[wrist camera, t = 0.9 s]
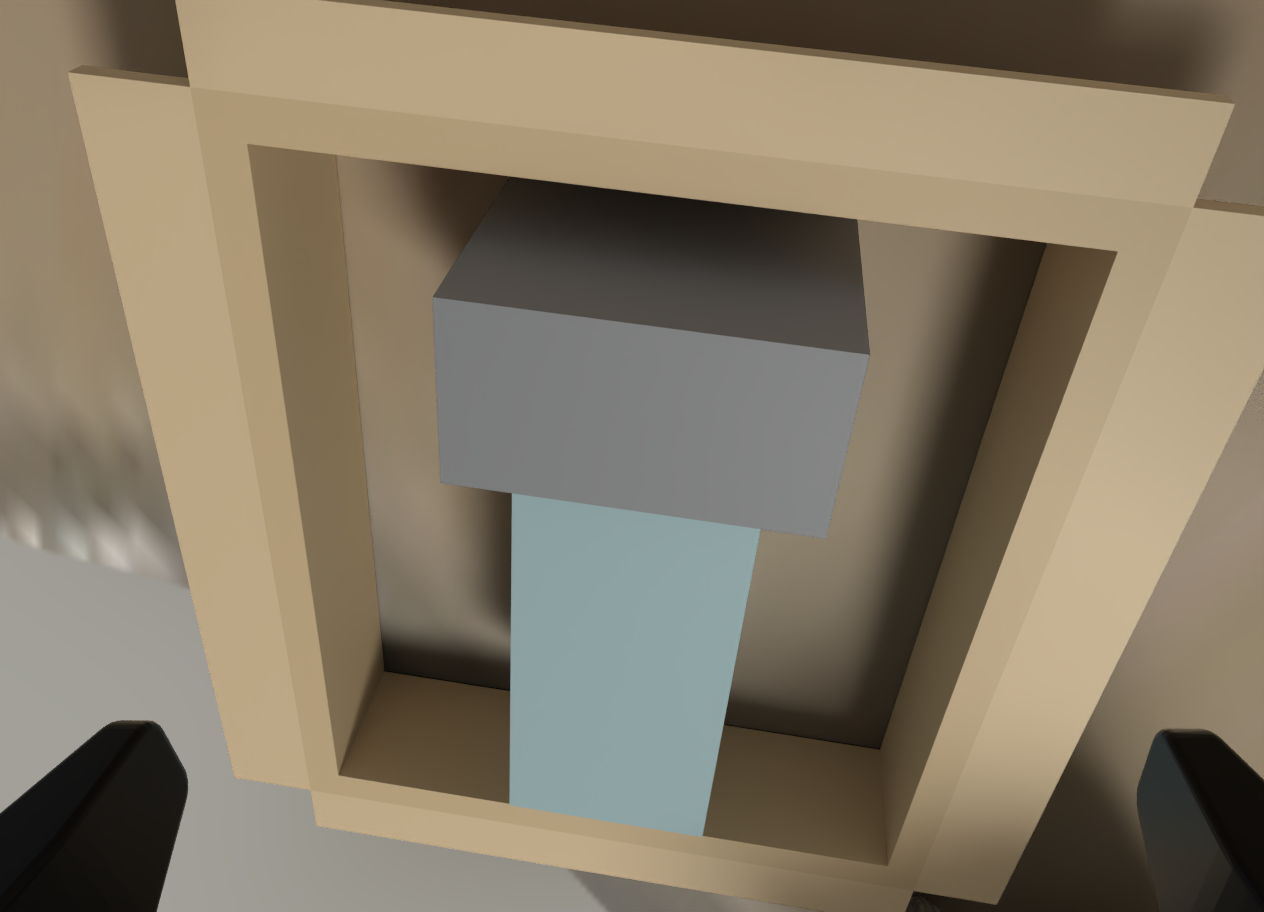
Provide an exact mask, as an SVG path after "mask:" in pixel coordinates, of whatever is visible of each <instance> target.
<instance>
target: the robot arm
mask: <svg viewBox="0 0 1264 912" xmlns="http://www.w3.org/2000/svg"><path fill="white" fill-rule="evenodd" d="M187 794H188V779H187V775H186V771H185V769H184V767H183V765H182V763H181V762H180V760H179V758H178V756H177V754H176V752H175V751H174V749H173V747H172V745H171V743H170V741H169V740H168V738H167V736H166V734H165V732H164V731H163V729H162V728H161V726H160V725H158V724H157V723H155V722H153V721H132V720H131V721H130V720H129V721H128V720H127V721H125V720H121V721H116V722H112V723H110V724H108V725H106V726H105V727H103V728H102V729H101V730H99V731H98V732H97V733H96V734H95V735H93V736H92V737H91V738H90V739H89V740H87V741H86V742H85V743H84V744H83V745H81V746H80V747H79V748H78V749H77V750H76V751H74V752H73V753H72V754H71V755H69V756H68V757H67V758H66V759H65V760H63V761H62V762H61V763H60V764H59V765H57V766H56V767H55V768H54V769H53V770H51V771H50V772H49V773H48V774H47V775H46V776H44V777H43V778H42V779H41V780H40V781H38V782H37V783H36V784H35V785H34V786H32V787H31V788H30V789H29V790H28V791H26V792H25V793H24V794H23V795H22V796H20V797H19V798H18V799H17V800H16V801H14V802H13V803H12V804H11V805H10V806H8V807H7V808H6V809H5V810H4V811H2V812H1V813H0V912H157V908H158V904H159V900H160V897H161V893H162V889H163V885H164V882H165V878H166V874H167V871H168V867H169V863H170V859H171V855H172V851H173V848H174V844H175V841H176V837H177V833H178V830H179V826H180V822H181V818H182V815H183V811H184V807H185V803H186V799H187ZM1137 809H1138V815H1139V820H1140V825H1141V829H1142V834H1143V839H1144V843H1145V848H1146V853H1147V857H1148V862H1149V867H1150V871H1151V876H1152V881H1153V885H1154V890H1155V895H1156V899H1157V904H1158V909H1159V912H1264V779H1263V778H1261V777H1260V776H1259V775H1258V774H1257V773H1256V772H1255V771H1254V770H1253V769H1252V768H1251V767H1250V766H1249V765H1248V764H1247V763H1246V762H1245V761H1244V760H1243V759H1242V758H1241V757H1240V756H1239V755H1238V754H1237V753H1236V752H1235V751H1234V750H1232V749H1231V748H1230V747H1229V746H1228V745H1227V744H1226V743H1225V742H1224V741H1223V740H1222V739H1221V738H1220V737H1219V736H1217V735H1216V734H1214V733H1213V732H1211V731H1208V730H1204V729H1162V730H1161V731H1159V732H1158V733H1157V734H1156V735H1155V737H1154V739H1153V742H1152V745H1151V748H1150V751H1149V754H1148V757H1147V760H1146V763H1145V766H1144V769H1143V772H1142V775H1141V778H1140V781H1139V784H1138V788H1137Z"/></svg>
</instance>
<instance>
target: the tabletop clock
mask: <svg viewBox="0 0 1264 912" xmlns="http://www.w3.org/2000/svg"><path fill="white" fill-rule="evenodd" d="M905 912H940V910H939V909H938V908H937V906H936V905H935V904H933V903H932V902H930V901H928V900H926V899H924V898H923V897H921V896H919V895H912V896H911V899H910V901H909V904H908V906H907V909H906V911H905Z"/></svg>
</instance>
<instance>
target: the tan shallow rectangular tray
mask: <svg viewBox="0 0 1264 912" xmlns="http://www.w3.org/2000/svg"><path fill="white" fill-rule="evenodd" d="M175 2H176V7H177V13H178V19H179V25H180V31H181V37H182V43H183V48H184V54H185V60H186V66H187V72H188V78H183V77H175V76H167V75H158V74H150V73H142V72H133V71H125V70H117V69H108V68H100V67H92V66H83V65H82V66H80V67H78V68H76V69H73V70H71V71H69V72H68V76H69V80H70V84H71V89H72V93H73V97H74V101H75V105H76V110H77V114H78V118H79V122H80V127H81V131H82V135H83V139H84V143H85V148H86V152H87V156H88V160H89V165H90V169H91V173H92V177H93V181H94V186H95V190H96V194H97V198H98V203H99V207H100V211H101V215H102V219H103V224H104V228H105V232H106V236H107V241H108V245H109V249H110V253H111V257H112V262H113V266H114V270H115V274H116V279H117V283H118V287H119V291H120V295H121V300H122V304H123V308H124V312H125V317H126V321H127V325H128V329H129V333H130V338H131V342H132V346H133V350H134V355H135V359H136V363H137V367H138V371H139V376H140V380H141V384H142V388H143V393H144V397H145V401H146V405H147V409H148V414H149V418H150V422H151V426H152V430H153V435H154V439H155V443H156V447H157V452H158V456H159V460H160V464H161V468H162V473H163V477H164V481H165V485H166V490H167V494H168V498H169V502H170V506H171V511H172V515H173V519H174V523H175V528H176V532H177V536H178V540H179V544H180V549H181V553H182V557H183V561H184V566H185V570H186V574H187V578H188V582H189V587H190V591H191V595H192V599H193V603H194V607H195V612H196V616H197V620H198V625H199V629H200V633H201V637H202V642H203V646H204V650H205V654H206V658H207V663H208V667H209V671H210V675H211V680H212V683H213V688H214V692H215V696H216V701H217V705H218V709H219V713H220V717H221V722H222V726H223V730H224V734H225V739H226V743H227V747H228V751H229V756H230V760H231V764H232V768H233V772H234V776H235V778H240V779H246V780H252V781H258V782H265V783H270V784H276V785H282V786H288V787H294V788H300V789H306V790H311V796H312V801H313V806H314V813H315V818H316V824H317V826H321V827H327V828H333V829H339V830H344V831H351V832H356V833H363V834H369V835H374V836H380V837H386V838H392V839H398V840H403V841H410V842H415V843H422V844H427V845H434V846H440V847H445V848H451V849H457V850H463V851H469V852H474V853H481V854H486V855H493V856H498V857H504V858H510V859H516V860H522V861H528V862H533V863H539V864H545V865H551V866H557V867H563V868H569V869H575V870H581V871H587V872H593V873H598V874H604V875H610V876H616V877H622V878H628V879H634V880H640V881H646V882H652V883H658V884H663V885H669V886H675V887H681V888H687V889H693V890H699V891H705V892H711V893H717V894H722V895H728V896H734V897H740V898H746V899H752V900H758V901H764V902H770V903H776V904H782V905H787V906H793V907H799V908H805V909H811V910H817V911H823V912H905V911H906V909H907V906H908V904H909V901H910V899H911V896H912V894H913V891H917V892H923V893H929V894H935V895H941V896H947V897H953V898H959V899H965V900H971V901H977V902H983V903H989V904H995V905H997V903H998V901H999V899H1000V897H1001V895H1002V893H1003V891H1004V889H1005V887H1006V885H1007V883H1008V881H1009V879H1010V877H1011V875H1012V873H1013V871H1014V869H1015V867H1016V865H1017V863H1018V861H1019V859H1020V857H1021V855H1022V853H1023V851H1024V849H1025V847H1026V845H1027V843H1028V841H1029V839H1030V837H1031V835H1032V833H1033V831H1034V829H1035V827H1036V825H1037V823H1038V821H1039V819H1040V817H1041V815H1042V813H1043V811H1044V809H1045V807H1046V805H1047V803H1048V801H1049V799H1050V797H1051V795H1052V793H1053V791H1054V789H1055V787H1056V785H1057V783H1058V781H1059V779H1060V777H1061V775H1062V773H1063V771H1064V769H1065V767H1066V765H1067V763H1068V761H1069V759H1070V757H1071V755H1072V753H1073V751H1074V749H1075V747H1076V745H1077V743H1078V741H1079V739H1080V737H1081V735H1082V733H1083V731H1084V729H1085V727H1086V725H1087V723H1088V721H1089V719H1090V717H1091V715H1092V713H1093V711H1094V709H1095V707H1096V705H1097V703H1098V701H1099V699H1100V697H1101V695H1102V693H1103V690H1104V688H1105V686H1106V684H1107V682H1108V680H1109V678H1110V676H1111V674H1112V672H1113V670H1114V668H1115V666H1116V664H1117V662H1118V660H1119V658H1120V656H1121V654H1122V652H1123V650H1124V648H1125V646H1126V644H1127V642H1128V640H1129V638H1130V636H1131V634H1132V632H1133V630H1134V628H1135V626H1136V624H1137V622H1138V620H1139V618H1140V616H1141V614H1142V612H1143V610H1144V608H1145V606H1146V604H1147V602H1148V600H1149V598H1150V596H1151V594H1152V592H1153V590H1154V588H1155V586H1156V584H1157V582H1158V580H1159V578H1160V576H1161V574H1162V572H1163V570H1164V568H1165V566H1166V564H1167V562H1168V560H1169V558H1170V556H1171V554H1172V552H1173V550H1174V548H1175V546H1176V544H1177V542H1178V540H1179V538H1180V536H1181V534H1182V532H1183V530H1184V528H1185V526H1186V524H1187V522H1188V520H1189V518H1190V516H1191V514H1192V512H1193V510H1194V508H1195V506H1196V504H1197V502H1198V500H1199V498H1200V496H1201V494H1202V492H1203V490H1204V488H1205V486H1206V484H1207V482H1208V480H1209V478H1210V476H1211V474H1212V472H1213V470H1214V468H1215V466H1216V464H1217V462H1218V460H1219V458H1220V456H1221V454H1222V452H1223V450H1224V448H1225V446H1226V444H1227V442H1228V440H1229V438H1230V436H1231V433H1232V431H1233V429H1234V427H1235V425H1236V423H1237V421H1238V419H1239V417H1240V415H1241V413H1242V411H1243V409H1244V407H1245V405H1246V403H1247V401H1248V399H1249V397H1250V395H1251V393H1252V391H1253V389H1254V387H1255V385H1256V383H1257V381H1258V379H1259V377H1260V375H1261V373H1262V371H1263V369H1264V207H1261V206H1253V205H1244V204H1236V203H1228V202H1219V201H1211V200H1203V199H1197V197H1198V195H1199V192H1200V190H1201V187H1202V185H1203V182H1204V180H1205V177H1206V175H1207V173H1208V170H1209V168H1210V165H1211V163H1212V160H1213V158H1214V155H1215V153H1216V151H1217V148H1218V146H1219V143H1220V141H1221V138H1222V136H1223V133H1224V131H1225V129H1226V126H1227V124H1228V121H1229V119H1230V116H1231V114H1232V111H1233V109H1234V107H1235V103H1234V102H1233V101H1232V100H1231V99H1229V98H1228V97H1227V96H1226V95H1218V94H1209V93H1200V92H1191V91H1182V90H1173V89H1165V88H1156V87H1147V86H1138V85H1129V84H1120V83H1111V82H1103V81H1094V80H1085V79H1076V78H1067V77H1058V76H1049V75H1040V74H1032V73H1023V72H1014V71H1005V70H996V69H987V68H978V67H970V66H961V65H952V64H943V63H934V62H925V61H916V60H908V59H899V58H890V57H881V56H872V55H863V54H854V53H846V52H837V51H828V50H819V49H810V48H801V47H792V46H784V45H775V44H766V43H757V42H748V41H739V40H730V39H722V38H713V37H704V36H695V35H686V34H677V33H668V32H660V31H651V30H642V29H633V28H624V27H615V26H606V25H598V24H589V23H580V22H571V21H562V20H553V19H544V18H536V17H527V16H518V15H509V14H500V13H491V12H482V11H474V10H465V9H456V8H447V7H438V6H429V5H420V4H412V3H403V2H394V1H385V0H175ZM336 155H342V156H350V157H358V158H366V159H374V160H382V161H390V162H398V163H407V164H415V165H423V166H431V167H439V168H447V169H455V170H463V171H471V172H479V173H487V174H496V175H504V176H512V177H520V178H528V179H536V180H544V181H552V182H560V183H568V184H576V185H584V186H593V187H601V188H609V189H617V190H625V191H633V192H641V193H649V194H657V195H665V196H673V197H681V198H690V199H698V200H706V201H714V202H722V203H730V204H738V205H746V206H754V207H762V208H770V209H778V210H787V211H795V212H803V213H811V214H819V215H827V216H835V217H843V218H851V219H859V220H867V221H875V222H884V223H892V224H900V225H908V226H916V227H924V228H932V229H940V230H948V231H956V232H964V233H973V234H981V235H989V236H997V237H1005V238H1013V239H1021V240H1029V241H1037V242H1045V243H1047V244H1046V247H1045V250H1044V253H1043V256H1042V259H1041V262H1040V265H1039V268H1038V272H1037V275H1036V278H1035V281H1034V284H1033V287H1032V290H1031V293H1030V296H1029V299H1028V302H1027V305H1026V308H1025V311H1024V314H1023V317H1022V320H1021V323H1020V326H1019V329H1018V332H1017V335H1016V338H1015V341H1014V344H1013V347H1012V350H1011V353H1010V357H1009V360H1008V363H1007V366H1006V369H1005V372H1004V375H1003V378H1002V381H1001V384H1000V387H999V390H998V393H997V396H996V399H995V402H994V405H993V408H992V411H991V414H990V417H989V420H988V423H987V426H986V429H985V432H984V435H983V438H982V442H981V445H980V448H979V451H978V454H977V457H976V460H975V463H974V466H973V469H972V472H971V475H970V478H969V481H968V484H967V487H966V490H965V493H964V496H963V499H962V502H961V505H960V508H959V511H958V514H957V517H956V520H955V523H954V526H953V530H952V533H951V536H950V539H949V542H948V545H947V548H946V551H945V554H944V557H943V560H942V563H941V566H940V569H939V572H938V575H937V578H936V581H935V584H934V587H933V590H932V593H931V596H930V599H929V602H928V605H927V608H926V611H925V615H924V618H923V621H922V624H921V627H920V630H919V633H918V636H917V639H916V642H915V645H914V648H913V651H912V654H911V657H910V660H909V663H908V666H907V669H906V672H905V675H904V678H903V681H902V684H901V687H900V690H899V693H898V696H897V700H896V703H895V706H894V709H893V712H892V715H891V718H890V721H889V724H888V727H887V730H886V733H885V736H884V739H883V742H882V745H881V748H880V750H878V749H872V748H866V747H859V746H853V745H847V744H840V743H834V742H828V741H821V740H815V739H809V738H803V737H796V736H790V735H784V734H777V733H771V732H765V731H758V730H752V729H746V728H739V727H733V726H727V725H723V730H722V736H721V741H720V746H719V752H718V757H717V762H716V767H715V773H714V778H713V783H712V788H711V794H710V799H709V804H708V810H707V815H706V820H705V825H704V831H703V836H702V837H698V836H692V835H686V834H680V833H674V832H668V831H662V830H656V829H650V828H644V827H638V826H632V825H625V824H619V823H613V822H607V821H601V820H595V819H589V818H583V817H577V816H571V815H565V814H559V813H553V812H547V811H541V810H535V809H529V808H523V807H517V806H511V805H509V802H510V691H505V690H499V689H493V688H486V687H480V686H474V685H467V684H461V683H455V682H448V681H442V680H436V679H429V678H423V677H417V676H410V675H404V674H398V673H391V672H385V671H384V662H383V651H382V640H381V630H380V619H379V609H378V598H377V588H376V577H375V566H374V556H373V545H372V535H371V524H370V514H369V503H368V493H367V482H366V471H365V461H364V450H363V440H362V429H361V419H360V408H359V397H358V387H357V376H356V366H355V355H354V345H353V334H352V324H351V313H350V302H349V292H348V281H347V271H346V260H345V250H344V239H343V228H342V218H341V207H340V197H339V186H338V176H337V165H336Z"/></svg>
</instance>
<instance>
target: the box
mask: <svg viewBox="0 0 1264 912" xmlns="http://www.w3.org/2000/svg"><path fill="white" fill-rule="evenodd" d="M433 317H434V341H435V364H436V388H437V411H438V435H439V458H440V482H441V483H444V484H451V485H458V486H465V487H472V488H478V489H485V490H492V491H499V492H506V493H512V547H511V675H510V802H509V805H511V806H517V807H523V808H529V809H535V810H541V811H547V812H553V813H559V814H565V815H571V816H577V817H583V818H589V819H595V820H601V821H607V822H613V823H619V824H625V825H632V826H638V827H644V828H650V829H656V830H662V831H668V832H674V833H680V834H686V835H692V836H698V837H702V836H703V831H704V825H705V820H706V815H707V810H708V804H709V799H710V794H711V788H712V783H713V778H714V773H715V767H716V762H717V757H718V752H719V746H720V741H721V736H722V730H723V725H724V720H725V715H726V709H727V704H728V699H729V693H730V688H731V683H732V678H733V672H734V667H735V662H736V657H737V651H738V646H739V641H740V635H741V630H742V625H743V620H744V614H745V609H746V604H747V599H748V593H749V588H750V583H751V577H752V572H753V567H754V562H755V556H756V551H757V546H758V540H759V535H760V530H761V529H762V530H769V531H776V532H783V533H790V534H797V535H804V536H811V537H818V538H824V539H826V537H827V533H828V528H829V524H830V520H831V516H832V512H833V507H834V503H835V499H836V495H837V491H838V487H839V482H840V478H841V474H842V470H843V466H844V461H845V457H846V453H847V449H848V445H849V440H850V436H851V432H852V428H853V424H854V420H855V415H856V411H857V407H858V403H859V399H860V394H861V390H862V386H863V382H864V378H865V374H866V369H867V365H868V361H869V357H870V350H869V340H868V329H867V319H866V308H865V297H864V287H863V276H862V265H861V255H860V244H859V234H858V223H857V219H851V218H843V217H835V216H827V215H819V214H811V213H803V212H795V211H787V210H778V209H770V208H762V207H754V206H746V205H738V204H730V203H722V202H714V201H706V200H698V199H690V198H681V197H673V196H665V195H657V194H649V193H641V192H633V191H625V190H617V189H609V188H601V187H593V186H584V185H576V184H568V183H560V182H552V181H544V180H536V179H528V178H520V177H512V176H510V178H509V179H508V181H507V182H506V184H505V185H504V187H503V188H502V190H501V192H500V193H499V195H498V196H497V198H496V199H495V201H494V202H493V204H492V206H491V207H490V209H489V210H488V212H487V213H486V215H485V216H484V218H483V220H482V221H481V223H480V224H479V226H478V227H477V229H476V230H475V232H474V234H473V235H472V237H471V238H470V240H469V241H468V243H467V244H466V246H465V248H464V249H463V251H462V252H461V254H460V255H459V257H458V258H457V260H456V262H455V263H454V265H453V266H452V268H451V269H450V271H449V272H448V274H447V276H446V277H445V279H444V280H443V282H442V283H441V285H440V286H439V288H438V290H437V291H436V293H435V294H434V296H433Z"/></svg>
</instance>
